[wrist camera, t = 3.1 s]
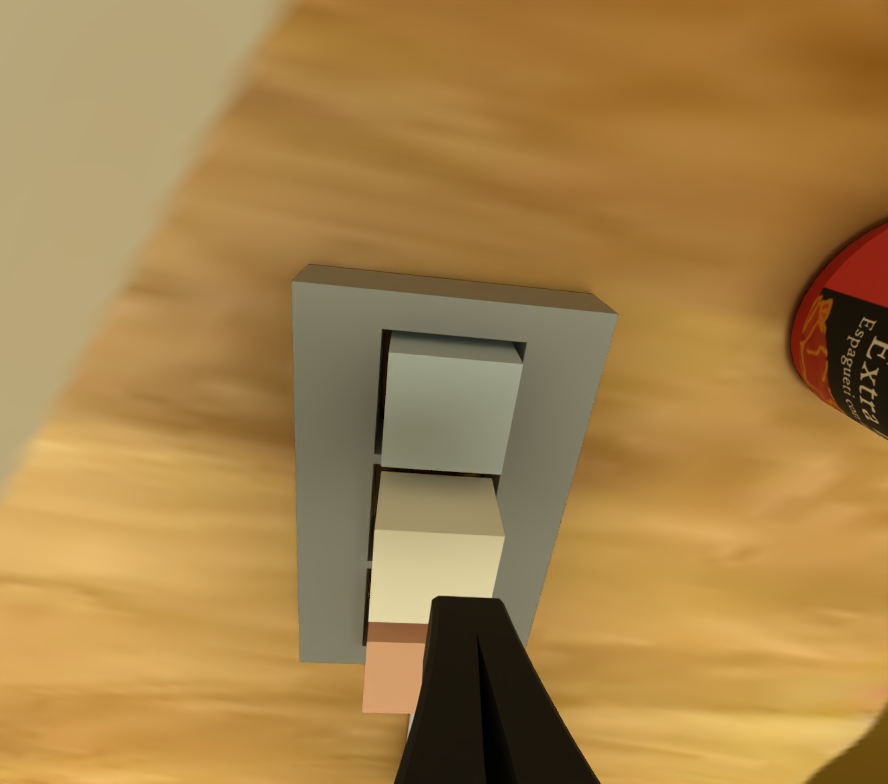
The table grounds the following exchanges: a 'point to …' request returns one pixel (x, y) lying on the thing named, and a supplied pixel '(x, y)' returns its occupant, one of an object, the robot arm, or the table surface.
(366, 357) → the keypad base
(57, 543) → the table surface
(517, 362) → the key slate
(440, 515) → the key ivory
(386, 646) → the key terracotta
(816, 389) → the canned food
